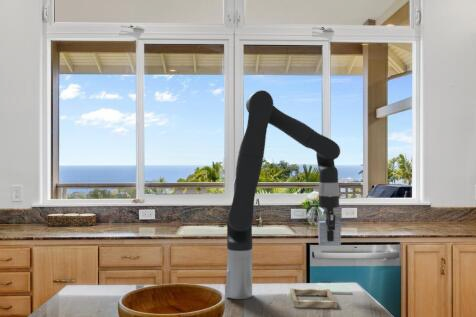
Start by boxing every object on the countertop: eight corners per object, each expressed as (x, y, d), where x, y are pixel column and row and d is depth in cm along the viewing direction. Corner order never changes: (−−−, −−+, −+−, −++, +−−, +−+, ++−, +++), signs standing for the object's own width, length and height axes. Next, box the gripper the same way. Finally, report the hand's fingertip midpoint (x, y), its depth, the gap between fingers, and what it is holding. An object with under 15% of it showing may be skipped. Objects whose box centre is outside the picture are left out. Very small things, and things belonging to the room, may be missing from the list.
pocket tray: (293, 307, 140) (293, 301, 140) (290, 294, 154) (290, 288, 154) (337, 308, 139) (337, 302, 139) (329, 294, 153) (329, 289, 153)
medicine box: (339, 243, 158) (339, 221, 158) (341, 246, 153) (340, 222, 153) (318, 243, 159) (318, 220, 159) (319, 245, 154) (319, 222, 154)
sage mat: (321, 293, 155) (321, 291, 155) (317, 285, 166) (317, 283, 166) (351, 294, 154) (351, 291, 154) (344, 285, 165) (344, 283, 165)
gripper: (316, 193, 164) (316, 236, 163) (321, 196, 149) (321, 243, 149) (335, 193, 163) (336, 236, 163) (342, 195, 149) (343, 243, 149)
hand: (329, 239), depth 156 cm, fingers closed on medicine box, 4 cm apart
